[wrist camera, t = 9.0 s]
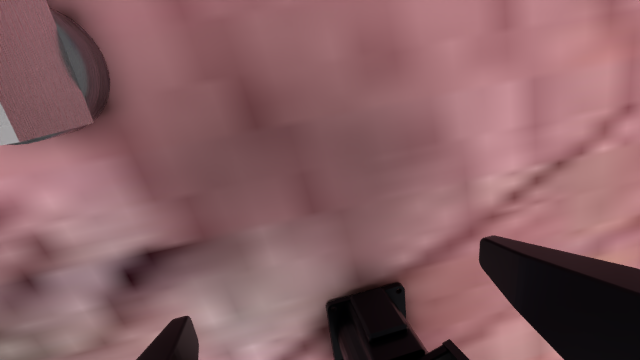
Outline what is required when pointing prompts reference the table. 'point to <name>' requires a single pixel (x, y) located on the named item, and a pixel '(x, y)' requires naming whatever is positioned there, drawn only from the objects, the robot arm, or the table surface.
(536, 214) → the table surface
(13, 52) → the socket
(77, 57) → the ratchet
